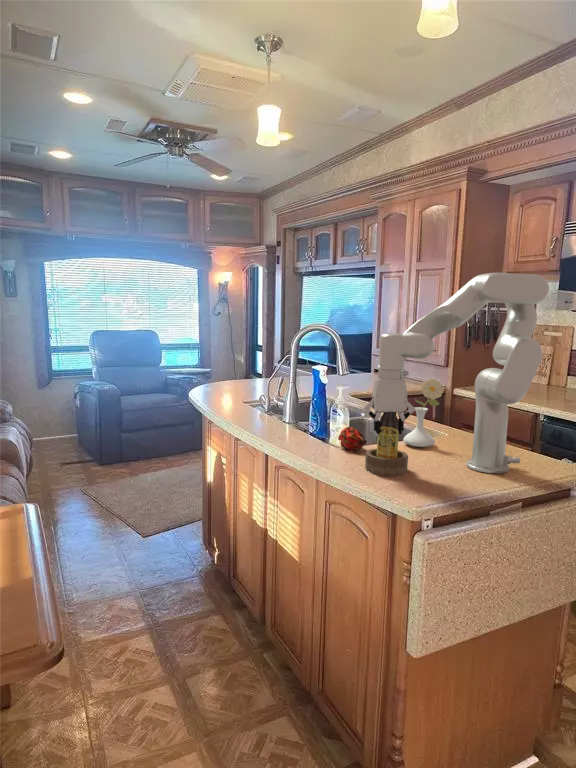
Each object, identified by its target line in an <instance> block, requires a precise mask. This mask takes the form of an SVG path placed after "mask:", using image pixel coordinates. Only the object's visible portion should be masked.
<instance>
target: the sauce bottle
mask: <svg viewBox="0 0 576 768" xmlns="http://www.w3.org/2000/svg"><path fill="white" fill-rule="evenodd" d="M382 413H383V414H381V416H380V417H379V421H380V433H379V434H377V444H376V448H377V457H379V458H385V459H396V458H397V451H398V450H399V449H398V448H399V435H400V434H399V420H398V419H399V417H398V416H397V413H395V412H382Z"/></svg>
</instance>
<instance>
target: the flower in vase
mask: <svg viewBox="0 0 576 768" xmlns="http://www.w3.org/2000/svg"><path fill="white" fill-rule="evenodd" d="M420 388H421V389H420V391H421V392H422V394H423V396H424V397H426V398H427V401H426V402H425V403H424V402H423V401H420V400H417V399H416V398H414V401H415V402H416V403H418V404H420V405H423V406H422V407H421V406H420V407H418V406H417V407H414V408H415V411H414V412H415V413H416V414H415V415H416V426H415V428H414V429H413V430H412V431H411V432H409V433H407V434H406V435H405V436H404V438H403V439H402V440H403V442H404V444H406V445H408V446H412V447H417V448H426V447H427V448H428V447H432V446H434V445H435V444H436V440H435V439H434V438H433V437H434V436H432V435H431V434H429V433H428V431H426V429H425V428H424V420H425V415H426V413H427V411H429V408H427V407H425V406H426V404H427V403H428V404H429V405H430V406H432V407H436V406H439V405H440V403H439V401H438V400H436V399H438V398H440V397H442V396H443V395H442V394H443V392H444V387H443V385H442V384H441V382H440V381H439V380H437V379H436V378H434V379H433V378H431V377H430V378H428V379H426V380H424V381H423V382H422V385H421V387H420Z"/></svg>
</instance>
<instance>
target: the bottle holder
mask: <svg viewBox="0 0 576 768" xmlns="http://www.w3.org/2000/svg"><path fill="white" fill-rule="evenodd" d="M364 458H365V461H364V462H365V464H364V469H365V470H366V471H367V472H368V471H369V473H370V472H371V474H372V475H376V474H377V475H378V476H382V475H383V477H398V475H399V476H404V475H405V474H406V473H407V472H408V463H409V462H408V461H409V455H408V454H407V453H406V452H404V451H402V450H400V449H398V451H397V458H396V459H385V458H379V457H377V447H376V448H372V449H371V448H369V449H368V450H366V451H365V457H364Z"/></svg>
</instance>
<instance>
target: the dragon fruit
mask: <svg viewBox="0 0 576 768" xmlns="http://www.w3.org/2000/svg"><path fill="white" fill-rule="evenodd" d="M337 439H338V441H340V446H341V448H346V449H347V450H349V451H350V452H357V451H356V448H357V449H362V448H363V447H364V445H366V444H367V441H368V440H365V439H366V437H365V436H364V434H363V433H362V432H361V431H359V429H357V428H356V427H353V426H347V427H345V428H343V429H342V430H341V431H340V434H339V435H338V437H337Z"/></svg>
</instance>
